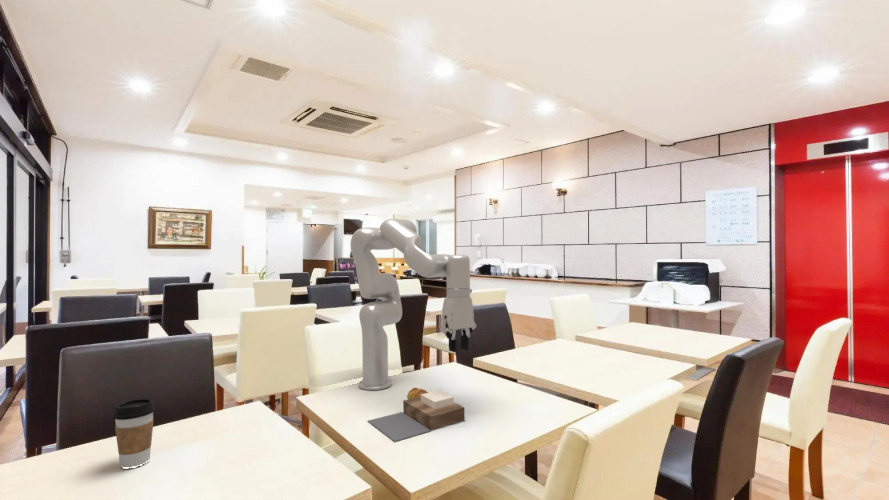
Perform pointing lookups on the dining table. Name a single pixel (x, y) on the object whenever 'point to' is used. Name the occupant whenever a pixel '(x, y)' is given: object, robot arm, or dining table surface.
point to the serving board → (433, 413)
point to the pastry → (415, 393)
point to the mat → (398, 426)
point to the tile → (437, 399)
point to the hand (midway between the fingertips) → (458, 349)
